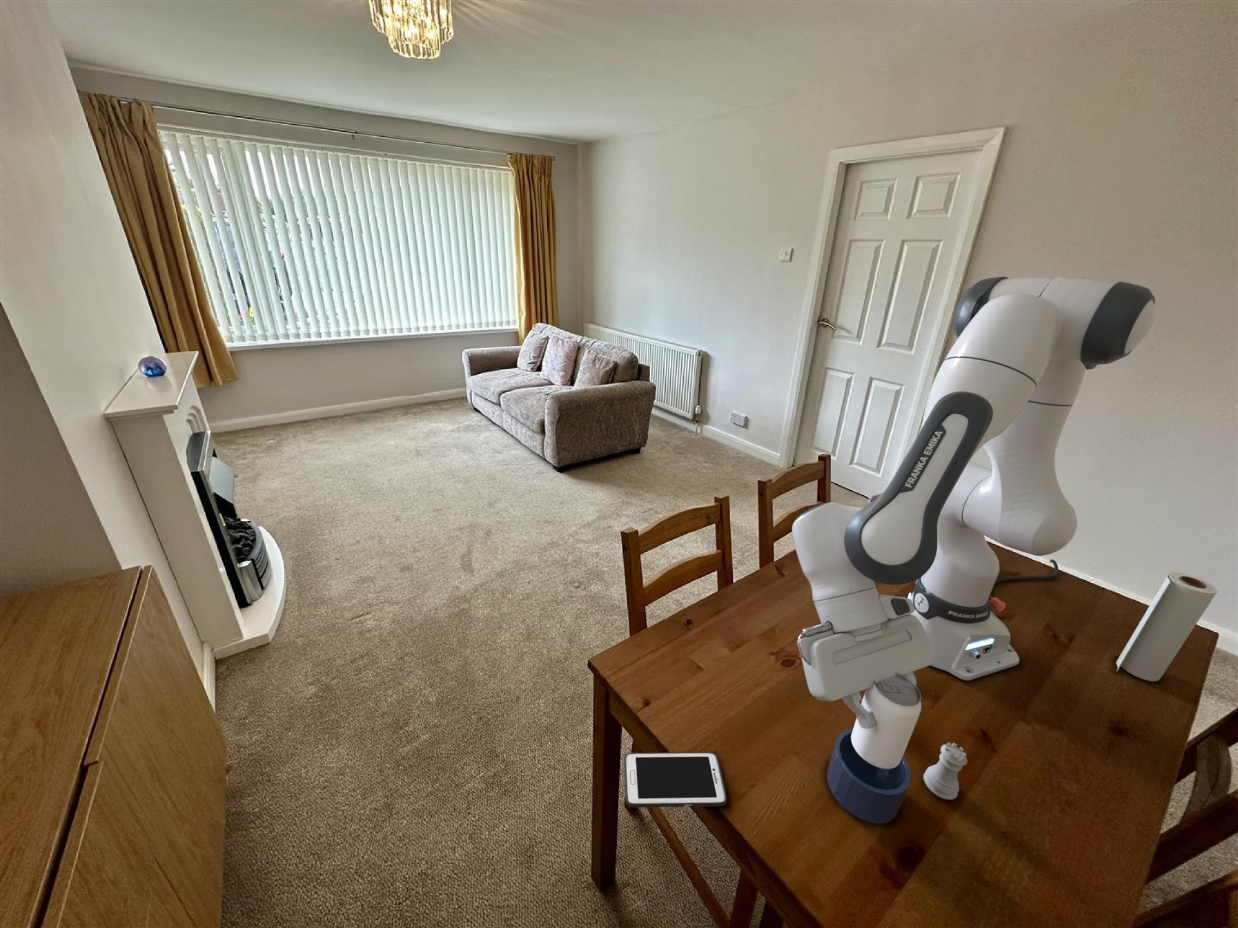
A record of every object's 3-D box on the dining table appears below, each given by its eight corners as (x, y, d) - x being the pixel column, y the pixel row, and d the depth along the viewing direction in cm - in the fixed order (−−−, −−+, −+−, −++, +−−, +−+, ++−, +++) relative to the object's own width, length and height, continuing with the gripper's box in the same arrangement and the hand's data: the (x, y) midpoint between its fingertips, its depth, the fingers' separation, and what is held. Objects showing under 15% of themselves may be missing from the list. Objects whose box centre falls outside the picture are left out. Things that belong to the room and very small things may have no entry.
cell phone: (623, 756, 75) (623, 752, 75) (716, 755, 76) (717, 751, 75) (625, 808, 68) (625, 804, 68) (728, 807, 69) (728, 802, 68)
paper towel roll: (1152, 665, 96) (1207, 577, 87) (1165, 686, 91) (1226, 596, 82) (1104, 651, 99) (1154, 565, 90) (1115, 671, 94) (1168, 583, 85)
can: (907, 775, 65) (933, 712, 60) (856, 765, 66) (878, 702, 61) (892, 732, 71) (914, 672, 66) (845, 724, 72) (864, 664, 67)
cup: (872, 753, 77) (882, 725, 74) (914, 819, 68) (927, 789, 65) (815, 760, 76) (823, 731, 73) (849, 827, 67) (860, 797, 64)
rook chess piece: (916, 772, 74) (930, 736, 71) (943, 770, 75) (959, 735, 72) (935, 802, 70) (952, 766, 67) (964, 800, 71) (982, 764, 67)
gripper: (808, 629, 63) (848, 745, 59) (919, 596, 70) (963, 698, 66) (780, 632, 69) (815, 738, 64) (886, 602, 76) (924, 695, 71)
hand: (891, 718), depth 65 cm, fingers closed on can, 6 cm apart
